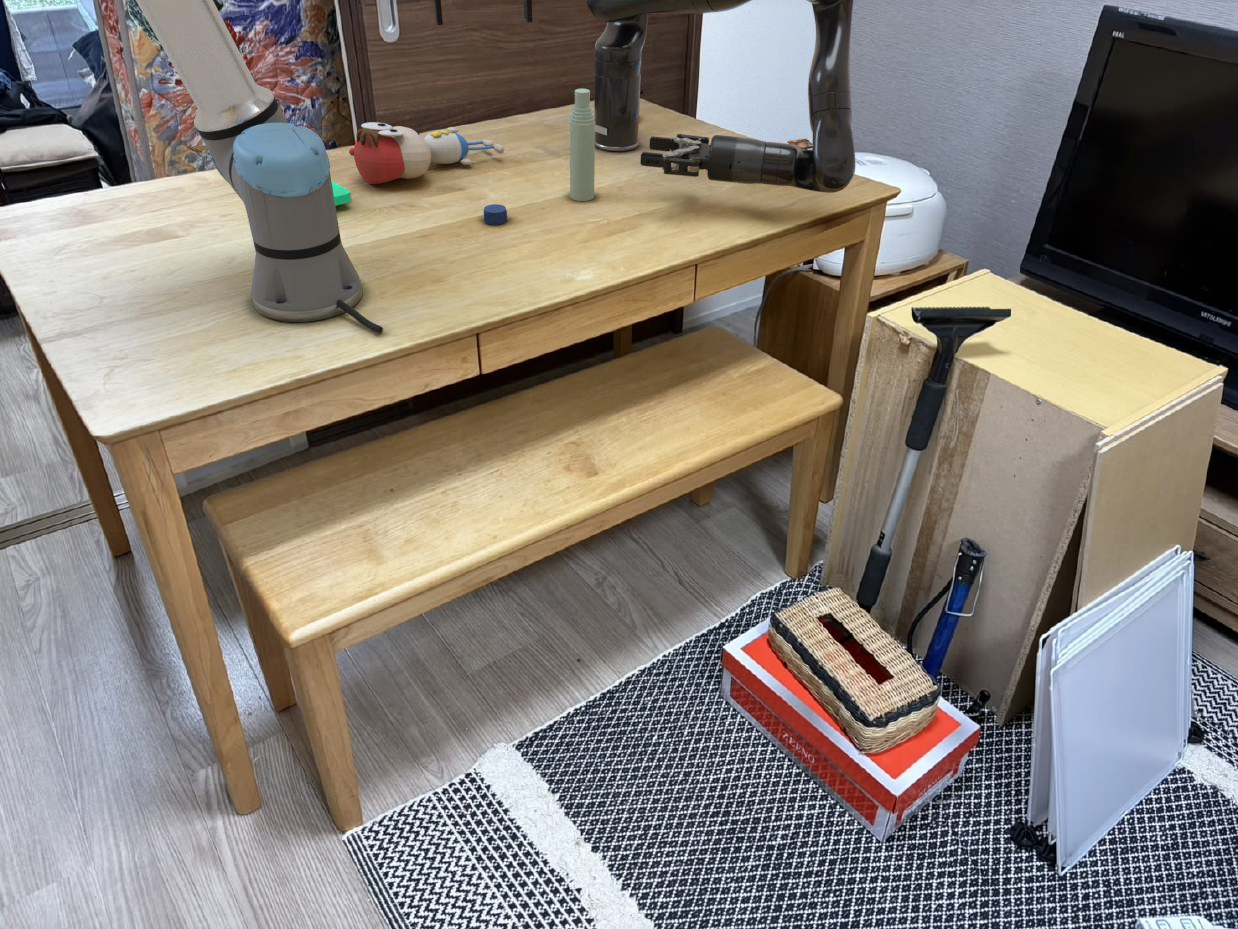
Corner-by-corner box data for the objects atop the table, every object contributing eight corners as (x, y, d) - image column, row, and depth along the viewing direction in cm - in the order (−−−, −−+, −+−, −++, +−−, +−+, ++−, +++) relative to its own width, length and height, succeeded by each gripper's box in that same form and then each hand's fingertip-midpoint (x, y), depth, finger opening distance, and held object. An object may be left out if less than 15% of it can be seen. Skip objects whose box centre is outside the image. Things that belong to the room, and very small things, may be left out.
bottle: (598, 194, 171) (599, 89, 159) (588, 202, 167) (588, 95, 156) (576, 190, 172) (576, 85, 161) (566, 198, 169) (565, 91, 157)
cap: (484, 216, 161) (483, 204, 160) (507, 216, 161) (506, 203, 160) (483, 225, 158) (483, 212, 157) (507, 224, 158) (506, 212, 157)
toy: (520, 129, 175) (365, 133, 160) (519, 183, 180) (369, 192, 165) (478, 113, 188) (332, 115, 173) (478, 164, 193) (336, 170, 178)
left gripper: (384, -144, 122) (403, 29, 135) (568, -142, 128) (569, 24, 141) (380, -148, 128) (398, 18, 141) (557, -147, 134) (559, 13, 146)
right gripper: (743, 125, 163) (653, 116, 166) (735, 151, 152) (638, 141, 155) (738, 167, 168) (651, 158, 170) (730, 195, 157) (636, 185, 159)
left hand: (484, 21), depth 141 cm, fingers open, 13 cm apart
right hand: (645, 150), depth 162 cm, fingers open, 8 cm apart
